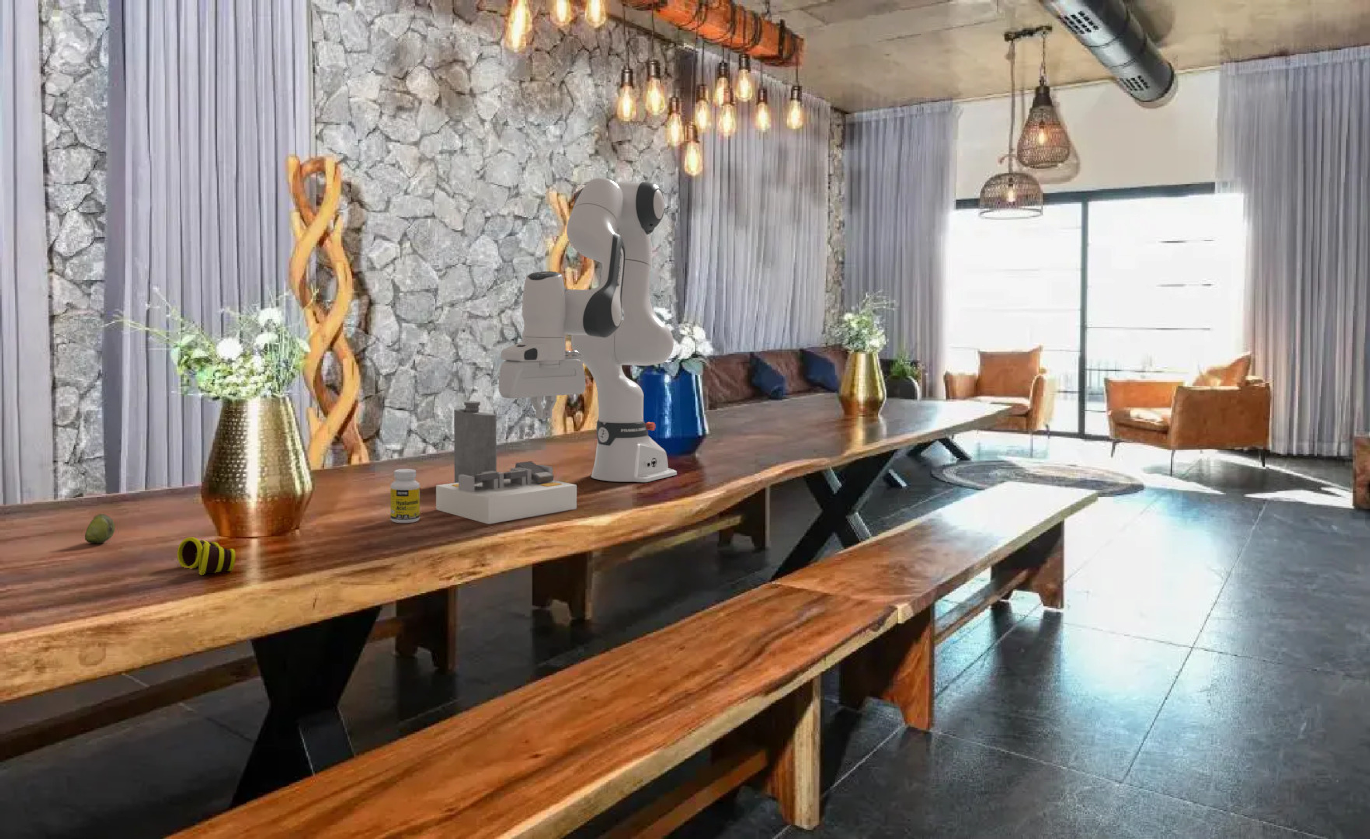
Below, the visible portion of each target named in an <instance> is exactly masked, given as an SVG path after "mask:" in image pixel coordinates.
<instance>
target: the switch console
mask: <svg viewBox="0 0 1370 839" xmlns="http://www.w3.org/2000/svg"><path fill="white" fill-rule="evenodd" d="M537 465H538V466H539V467H541V468H542V469H544V470H545V471H547V472H549V473H550V474H552V475H553V476H554V473H553V472H554V470H553V466H550V465H545V464H537ZM509 470H510V471H518V470H524V471H527V477H521V478H513V479H504V472H501V471H497V472H498V477H499V478H498V479H494V480H490V481H486V482H482V483H478V484H475V477H472V476H468V475H463V474H462V475H459V482H458V483H455V482H453V483H452V482H451V483H444V484H436V485H435V497H436V498H435V510H437V511H440V512H443V513H447V514H451V515H454V516H458V517H461V518H465V519H468V520H473V521H476V522H480V523H483V524H487V525H491V524H497V523H503V522H507V521H514V520H520V519H524V518H530V517H537V516H543V515H544V516H545V515H548V514H555V513H560V512H566V511H571V510H577V509H578V508H577V507H578V506H577V502H578V501H577V499H578V498H577V496H578V495H577V493H578V488H577V487H578V486H577V484H573V483H569V482H565V481H559V480H555V479H553V481H551V482H544V483H536V482H535V481H533V480H532V479H531V472H532V470H531V469H526V468H521V467H518V468H515V467H512V468H509ZM510 471H509V472H510ZM489 472H495V473H497V472H496V471H488V472H482V473H489Z"/></svg>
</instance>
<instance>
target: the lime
mask: <svg viewBox="0 0 1370 839" xmlns="http://www.w3.org/2000/svg"><path fill="white" fill-rule="evenodd" d="M115 528H116V526H115V522H114V520H113V518H111V517H110V516H109V515H106V514H104V513H99V514H97V515H95V516H94V517H93V519H92V520H91V521H90V522H89V524H88V526H87V528H86V532H85V535H84V540H85V541H86V542H87V543H89V544H98V545H99V544H102V543H105V542H106V541H108V540H110V539H112V537H113V535H114V533H115Z"/></svg>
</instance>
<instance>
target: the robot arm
mask: <svg viewBox="0 0 1370 839" xmlns="http://www.w3.org/2000/svg"><path fill="white" fill-rule="evenodd" d="M664 215H665V198H664V193H663V191H662V189H661V188H660V187H659V185H658V184H655V183H652V182H647V181H642V182H634V181H633V182H631V181H618V182H615V181H614V180H612V179H610V178H607V177H596V178H592V179H591V180H589V181H588V182H587V183H586V184H585V186H584V187H582V188H580V190H579V191H578V192H577V194H576V196H575V199H574V205H573V208H571V212H570V214H569V218H568V220H567V224H566V236H567V239H568V242H569V244H570V245H571V246H572V248H573V249H574V250H575V251H576V252H577V253H579V254H580V255H582V256H583V257H585V258H587V259H589V260H592V261H595V262H598V263H601V264H602V268H601V277H600V283H599V284H600V285H599V286H597V287H594V288H592V289H591V288H590V289H571V288H570V289H569V288H567V287H566V286H565V283H564V277H563V274H562V273H560V272H559V271H558V272H557V271H550V270H548V271H537V272H535V271H534V272H532V273H529V274H528V275H527V276H526V277H525V280H524V283H523V285H524V286H523V291H522V301H521V302H522V303H521V304H522V306H521V308H522V309H521V316H522V319H523V331H522V334H521V335H522V336H521V338H522V340H521V341H520V342H518V343H515V344H513V345H510V346H509V347H508V346H507V347H506V348H503V349H502V350H501V351H500V352H501V353H500V358H501V360H503V362H502V363H501V365H500V367H499V372H498V374H499V376H498V377H499V378H498V392H499V394H500V395H501V397H502V398H505V399H525V398H530V402H531V404H532V406H533V408H534V410H535V418H536V419H549V418H550V419H552V418H553V409H554V407H555V405H556V403H557V400H558V399H557V397H558V396H568V395H583V393H584V392H585V390H586V374H585V368H587V369H588V371H589V372H590V373H591V376H592V378H593V380H594V383H595V386H596V389H597V390H596V392H597V401H598V402H597V403H598V406H597V408H598V419H597V421H596V428H595V429H596V431H595V432H596V438H597V444H596V450H595V459H594V463H593V464H594V465H593V468H592V472H591V476H590V477H591V478H592V479H595V480H600V481H607V482H630V483H631V482H634V483H635V482H636V483H648V482H653V481H656V480H660V479H664V478H670V477H672V476H677V475H678V473H677V472H678V471H677V470H675V469H673V468H670V467H669V464H668V462H669V461H668V456H667V455H668V454H667V451H666V450H665V449H664V448H663V447H661V445H659V444H658V443H657V442H656V441H655V440H654V439H652V437H650V436H649V431H655V429H656V424H655V422H653V421H652V422H650V421H648V422H645V420H644V397H645V396H644V391H643V389H642V387H641V386H640V385H639V384H638V383H637V382H635V381H633V380H631V379H630V378H628V377H627V376H626V375H625V373H624V370H623V366H641V367H642V366H646V367H647V366H655V365H659V364H663V363H665V362H667V361H668V359H669V358H670V357H671V355H672V352H673V350H674V345H675V344H674V336H673V333H672V331H671V330H670V327H669V326H667V324H666V323H665V322H663V321H662V320H661V319H660V318H659V317H658V315H657V314H656V312H655V310H654V308H653V306H652V302H651V295H650V289H651V288H650V285H651V284H650V283H651V281H650V280H651V270H652V269H651V268H652V242H651V235H650V234H652V233H653V232H654V230H655V228H656V227H658V225H659V224H660V222H661V221H662V219H663V217H664ZM622 312H623V319H622ZM566 335H571V338H570V345H571V349H572V350H566V339H567V338H566ZM584 366H585V368H584ZM543 397H544V400H545V401H546V403H545V406H544V407H543V405H542V402H543Z"/></svg>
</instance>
